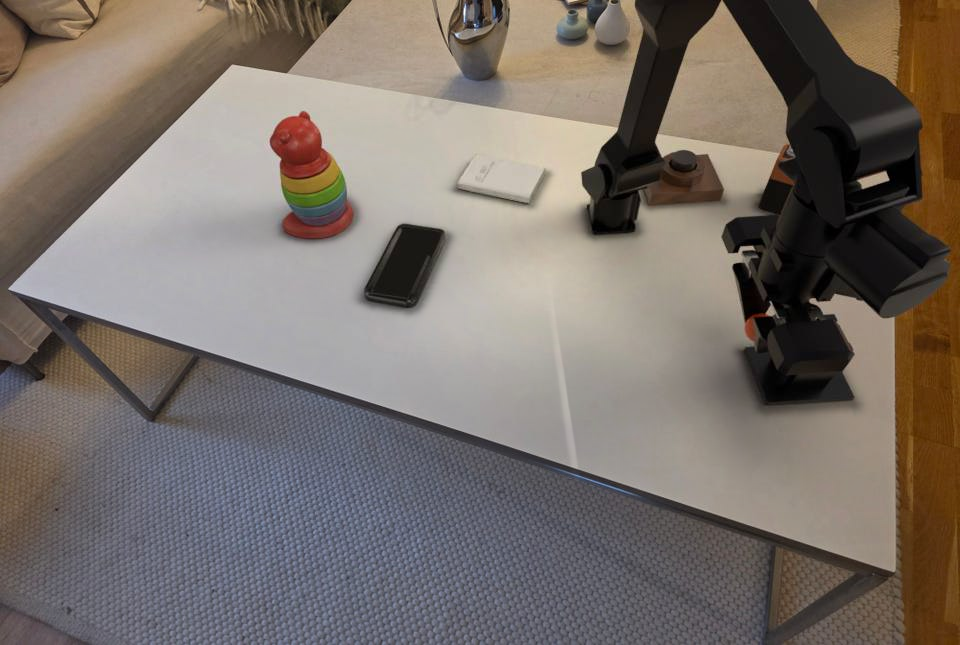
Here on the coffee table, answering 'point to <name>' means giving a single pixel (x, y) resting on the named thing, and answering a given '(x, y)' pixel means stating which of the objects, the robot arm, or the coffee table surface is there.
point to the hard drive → (502, 178)
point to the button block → (686, 184)
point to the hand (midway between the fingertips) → (755, 339)
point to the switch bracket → (796, 382)
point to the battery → (777, 185)
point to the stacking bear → (310, 180)
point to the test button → (683, 161)
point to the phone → (405, 265)
